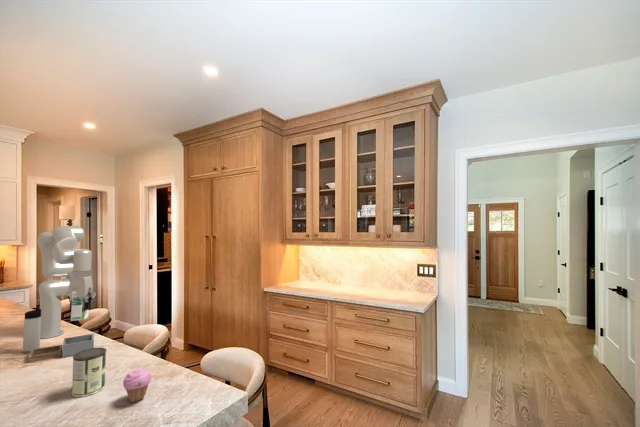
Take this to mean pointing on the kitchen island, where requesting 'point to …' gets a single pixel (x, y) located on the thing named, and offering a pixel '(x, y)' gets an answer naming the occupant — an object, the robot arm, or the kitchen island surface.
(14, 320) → the kitchen island surface
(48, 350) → the socket collar
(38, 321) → the travel mug
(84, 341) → the bin
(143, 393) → the cupcake
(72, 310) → the syrup box
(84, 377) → the coffee can
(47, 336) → the robot arm
